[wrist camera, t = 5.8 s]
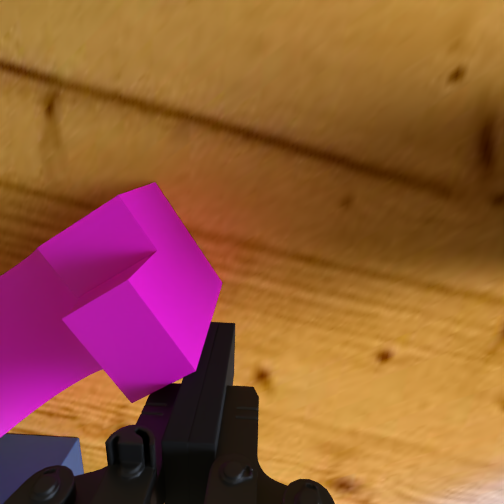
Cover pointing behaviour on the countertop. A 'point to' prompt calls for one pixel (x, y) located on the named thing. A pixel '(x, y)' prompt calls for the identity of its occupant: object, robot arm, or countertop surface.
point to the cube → (34, 458)
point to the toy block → (105, 305)
